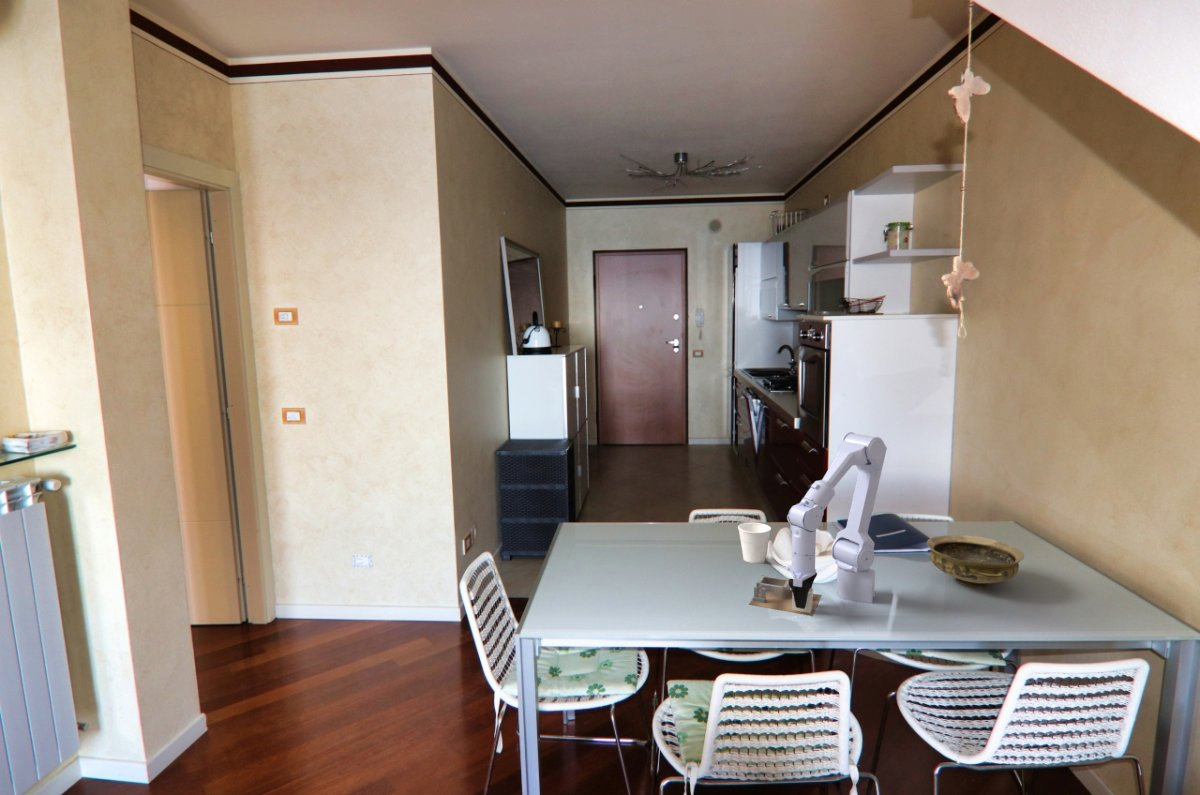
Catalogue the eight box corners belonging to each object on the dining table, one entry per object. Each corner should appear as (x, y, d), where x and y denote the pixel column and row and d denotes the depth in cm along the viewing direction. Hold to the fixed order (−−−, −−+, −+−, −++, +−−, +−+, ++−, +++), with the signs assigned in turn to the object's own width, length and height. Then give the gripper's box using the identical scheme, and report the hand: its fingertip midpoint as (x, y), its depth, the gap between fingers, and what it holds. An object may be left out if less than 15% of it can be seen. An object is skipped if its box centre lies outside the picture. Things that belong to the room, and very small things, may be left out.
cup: (743, 554, 218) (744, 520, 217) (774, 559, 213) (775, 525, 212) (732, 564, 210) (733, 529, 209) (764, 570, 205) (765, 534, 204)
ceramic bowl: (1042, 607, 177) (1045, 570, 176) (942, 601, 182) (944, 564, 180) (998, 565, 207) (1000, 532, 205) (913, 560, 211) (914, 529, 210)
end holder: (790, 590, 188) (790, 579, 187) (785, 599, 182) (785, 588, 182) (761, 585, 191) (762, 575, 191) (756, 594, 186) (756, 583, 185)
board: (821, 598, 185) (821, 595, 184) (812, 619, 172) (812, 615, 172) (761, 588, 192) (761, 585, 192) (748, 608, 179) (748, 604, 179)
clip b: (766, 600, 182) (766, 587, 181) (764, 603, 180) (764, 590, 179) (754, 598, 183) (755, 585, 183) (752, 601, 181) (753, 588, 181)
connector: (812, 608, 176) (813, 585, 176) (810, 613, 174) (810, 590, 173) (794, 605, 178) (794, 582, 178) (792, 609, 176) (792, 587, 175)
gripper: (793, 541, 182) (792, 590, 184) (781, 559, 170) (780, 612, 171) (821, 544, 179) (819, 595, 181) (810, 563, 166) (809, 617, 168)
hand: (802, 603), depth 176 cm, fingers open, 4 cm apart
